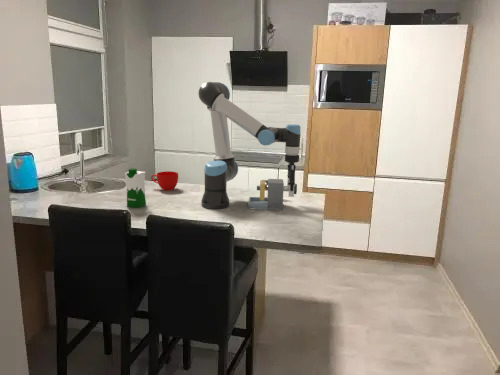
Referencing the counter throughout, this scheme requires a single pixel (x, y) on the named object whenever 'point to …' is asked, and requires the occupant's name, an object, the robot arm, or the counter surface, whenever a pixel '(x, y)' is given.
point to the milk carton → (135, 188)
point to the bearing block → (275, 194)
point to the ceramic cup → (166, 180)
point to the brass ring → (262, 190)
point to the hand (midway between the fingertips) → (290, 193)
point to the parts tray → (257, 203)
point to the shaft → (286, 188)
